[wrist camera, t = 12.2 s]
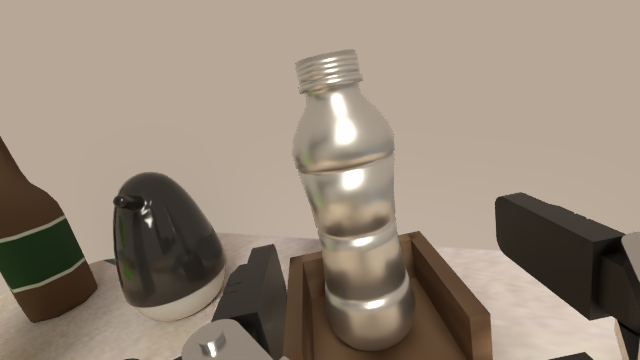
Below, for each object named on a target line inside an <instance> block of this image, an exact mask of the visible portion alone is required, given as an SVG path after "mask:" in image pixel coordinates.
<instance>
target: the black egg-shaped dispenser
mask: <svg viewBox="0 0 640 360" xmlns="http://www.w3.org/2000/svg"><path fill="white" fill-rule="evenodd" d="M113 203H114V205H115V206H114V213H113V242H114V254H115V261H116V267H117V272H118V277H119V281H120V285H121V288H122V292H123V294H124V297H125V299H126V301H127V302H128V303H129V304H130V305H131V306H134V307H135V308H136V309H137V310H138V311H139V312H140V313H142V314H143V315H145V316H146V317H148V318H151V319H154V320H158V321H174V320H179V319H182V318H185V317H188V316H190V315H193V314H194V313H196V312H198V311H200V310H201V309H203V308H204V307H205V306H207V305H208V304H209V303H210V302H211V301H212V300H213V299H214V298H215V297H216V295H217V294H218V292H219V291H220V289H221V287H222V284H223V281H224V277H225V264H226V255H225V252H224V249H223V247H222V244H221V242H220V240H219V238H218V236H217V235H216V233H215V231H214V229H213V227H212V226H211V224H210V223H209V221H208V220H207V218H206V216H205V215H204V213H203V212H202V211H201V209H200V208H199V206H198V205H197V204H196V202H195V201H194V200H193V199H192V197H191V196H190V195H189V194H188V193H187V192H186V191H185V190H184V189H183V188H182V187H181V186H180V185H179V184H178V183H177V182H175V181H174V180H173V179H171V178H170V177H168V176H166V175H164V174H161V173H157V172H144V173H140V174H137V175H135V176H133V177H131V178H130V179H128V180H127V181H126V182H125V183H124V184H123V185H122V186H121V188H120V190H119V192H118V194H117V196H116V197H115V198H114V200H113Z"/></svg>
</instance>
